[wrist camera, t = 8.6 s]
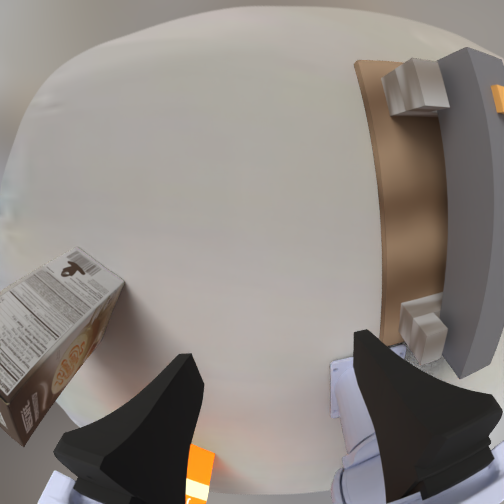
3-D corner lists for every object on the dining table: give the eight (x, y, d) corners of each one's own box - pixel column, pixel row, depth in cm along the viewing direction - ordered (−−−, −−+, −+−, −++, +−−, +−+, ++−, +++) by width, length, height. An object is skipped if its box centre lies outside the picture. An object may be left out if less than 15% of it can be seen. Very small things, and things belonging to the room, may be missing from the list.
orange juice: (192, 465, 33) (170, 562, 14) (144, 443, 32) (108, 541, 13) (215, 453, 31) (195, 568, 12) (161, 428, 29) (121, 547, 10)
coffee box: (103, 342, 25) (25, 451, 9) (60, 308, 24) (-30, 396, 9) (127, 280, 22) (7, 408, 7) (75, 241, 21) (-58, 327, 6)
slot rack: (471, 312, 21) (501, 341, 16) (379, 341, 23) (401, 383, 17) (465, 76, 14) (506, 65, 8) (353, 64, 15) (383, 33, 10)
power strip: (463, 332, 18) (493, 368, 13) (433, 343, 19) (462, 384, 13) (460, 72, 11) (507, 58, 6) (425, 66, 12) (472, 44, 7)
